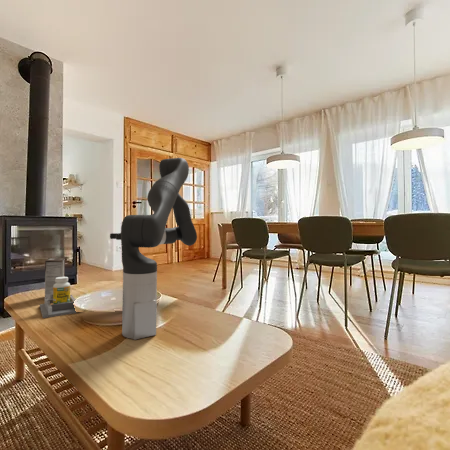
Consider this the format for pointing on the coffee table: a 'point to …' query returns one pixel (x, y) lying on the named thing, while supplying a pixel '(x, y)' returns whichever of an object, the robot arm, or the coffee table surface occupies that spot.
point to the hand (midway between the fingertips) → (113, 236)
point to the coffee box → (53, 274)
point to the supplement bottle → (61, 290)
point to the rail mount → (57, 308)
